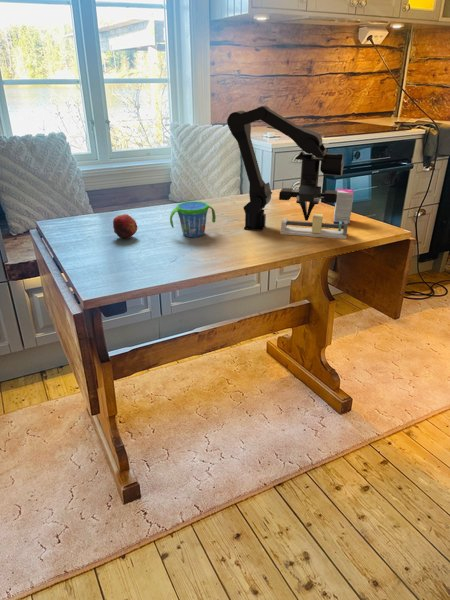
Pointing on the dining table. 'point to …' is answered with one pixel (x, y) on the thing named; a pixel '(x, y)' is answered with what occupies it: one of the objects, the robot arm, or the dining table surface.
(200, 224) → the snack cup
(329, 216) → the dining table surface
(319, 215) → the sleeve
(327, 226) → the linear slide rail
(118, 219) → the fruit
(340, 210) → the supplement box
